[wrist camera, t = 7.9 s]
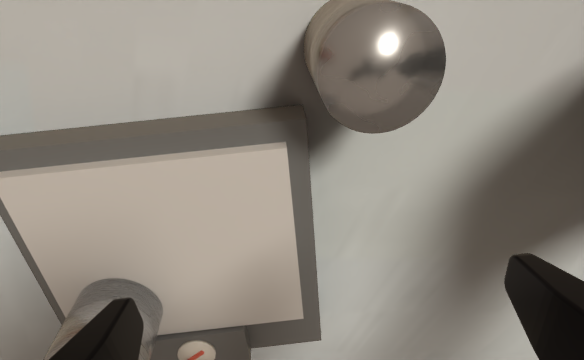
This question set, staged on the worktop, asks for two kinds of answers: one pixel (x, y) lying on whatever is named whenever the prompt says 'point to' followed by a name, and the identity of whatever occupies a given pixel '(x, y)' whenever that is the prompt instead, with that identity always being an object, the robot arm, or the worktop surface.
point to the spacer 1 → (99, 298)
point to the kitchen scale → (175, 223)
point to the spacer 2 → (374, 62)
